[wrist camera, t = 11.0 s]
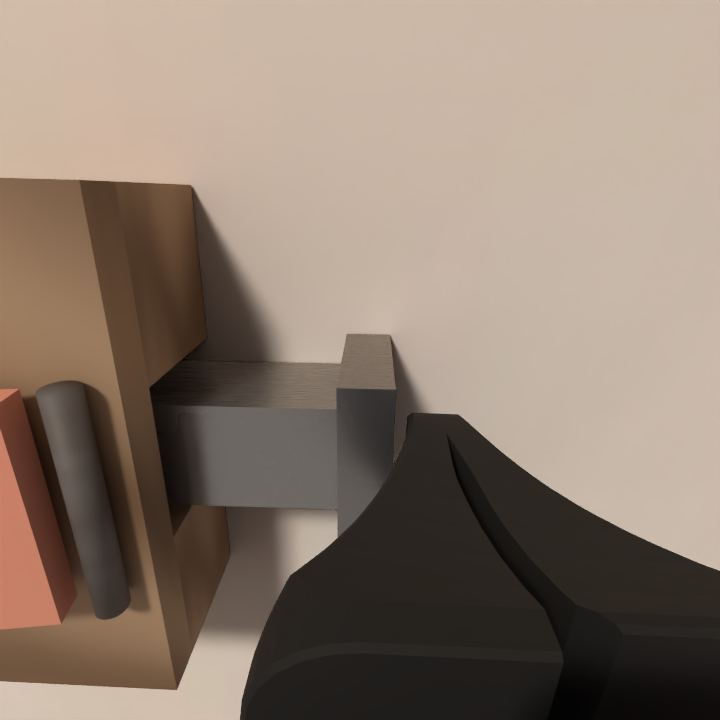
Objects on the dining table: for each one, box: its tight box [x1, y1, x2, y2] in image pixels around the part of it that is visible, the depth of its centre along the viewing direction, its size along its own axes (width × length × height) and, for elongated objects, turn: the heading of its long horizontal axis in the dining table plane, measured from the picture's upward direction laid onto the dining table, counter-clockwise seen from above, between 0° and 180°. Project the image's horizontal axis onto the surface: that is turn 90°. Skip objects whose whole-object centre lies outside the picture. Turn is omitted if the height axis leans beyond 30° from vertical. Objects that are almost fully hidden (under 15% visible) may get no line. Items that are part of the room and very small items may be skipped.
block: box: [0, 178, 230, 690], centre depth 11 cm, size 12×6×5 cm, turn 179°
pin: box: [149, 334, 396, 537], centre depth 11 cm, size 5×9×4 cm, turn 89°
